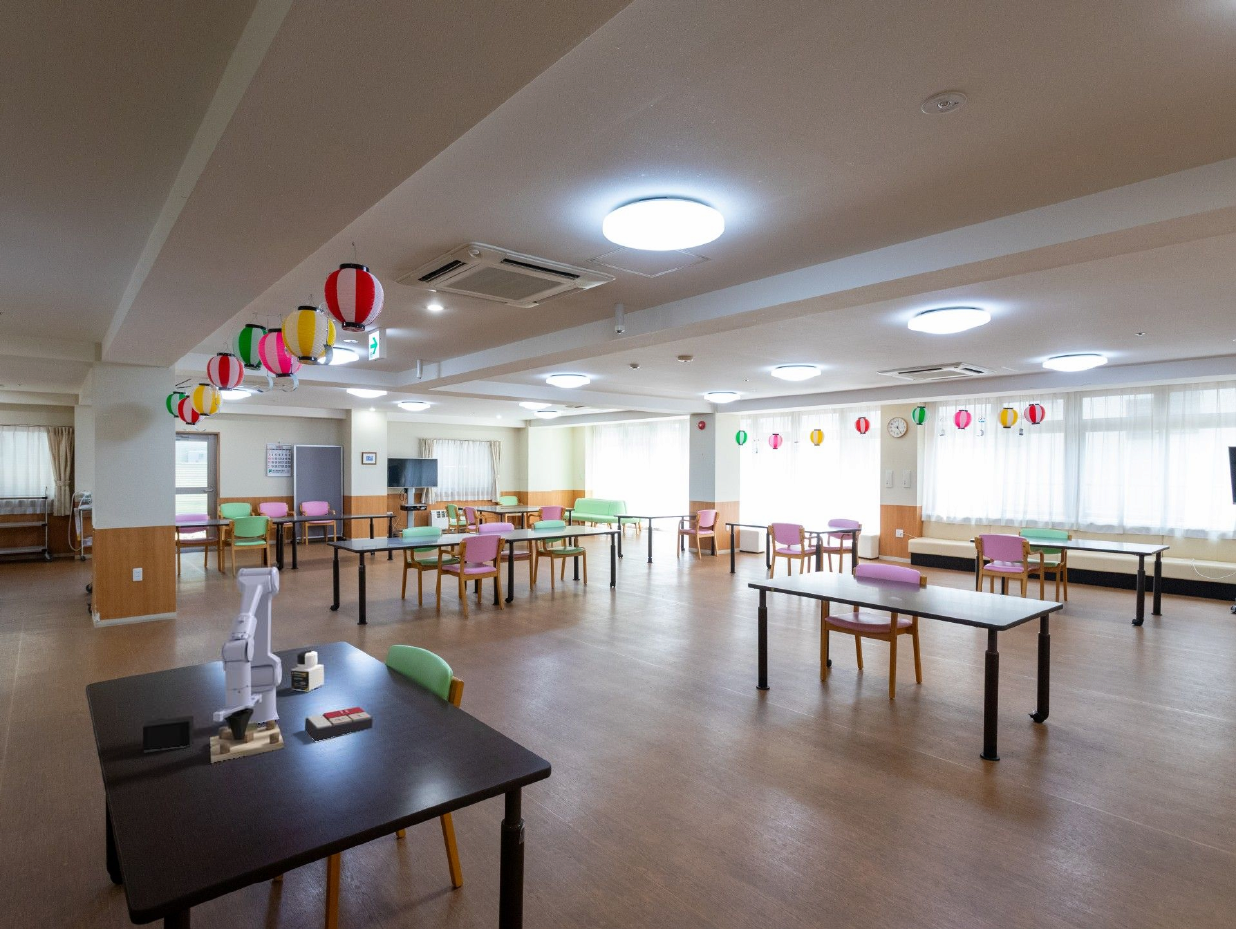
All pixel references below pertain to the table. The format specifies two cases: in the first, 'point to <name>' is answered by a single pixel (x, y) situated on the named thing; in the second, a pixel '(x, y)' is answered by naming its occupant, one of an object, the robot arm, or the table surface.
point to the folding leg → (227, 735)
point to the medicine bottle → (307, 672)
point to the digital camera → (168, 733)
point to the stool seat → (262, 742)
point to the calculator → (337, 723)
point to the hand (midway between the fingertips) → (239, 739)
